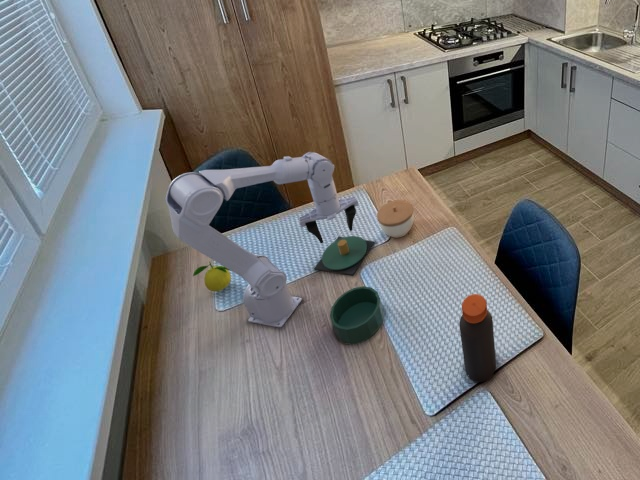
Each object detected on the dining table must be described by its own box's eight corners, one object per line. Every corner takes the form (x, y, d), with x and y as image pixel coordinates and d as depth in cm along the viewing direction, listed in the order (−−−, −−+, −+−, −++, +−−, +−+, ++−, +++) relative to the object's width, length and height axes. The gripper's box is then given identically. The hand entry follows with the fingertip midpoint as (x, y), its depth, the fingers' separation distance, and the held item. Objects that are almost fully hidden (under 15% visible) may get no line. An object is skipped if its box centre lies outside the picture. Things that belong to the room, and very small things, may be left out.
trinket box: (380, 246, 120) (374, 222, 116) (382, 221, 129) (376, 198, 125) (417, 239, 122) (412, 215, 118) (416, 215, 131) (412, 192, 127)
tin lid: (313, 268, 113) (309, 256, 111) (338, 236, 123) (335, 224, 121) (353, 274, 110) (349, 262, 108) (375, 241, 121) (372, 229, 119)
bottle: (500, 356, 90) (496, 294, 81) (489, 387, 84) (483, 325, 75) (472, 347, 92) (465, 286, 83) (459, 377, 86) (450, 314, 77)
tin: (325, 339, 95) (320, 324, 92) (351, 298, 104) (347, 283, 102) (369, 348, 92) (364, 332, 90) (391, 304, 102) (387, 290, 100)
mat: (314, 269, 113) (313, 268, 113) (339, 238, 124) (338, 236, 123) (353, 275, 111) (352, 274, 110) (374, 243, 121) (374, 241, 121)
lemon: (202, 294, 107) (188, 267, 103) (224, 276, 112) (211, 250, 107) (219, 302, 105) (205, 275, 100) (240, 284, 109) (228, 257, 105)
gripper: (296, 215, 99) (310, 256, 104) (357, 192, 106) (366, 231, 112) (292, 199, 104) (305, 239, 110) (350, 179, 111) (359, 217, 117)
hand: (336, 234), depth 111 cm, fingers open, 7 cm apart
